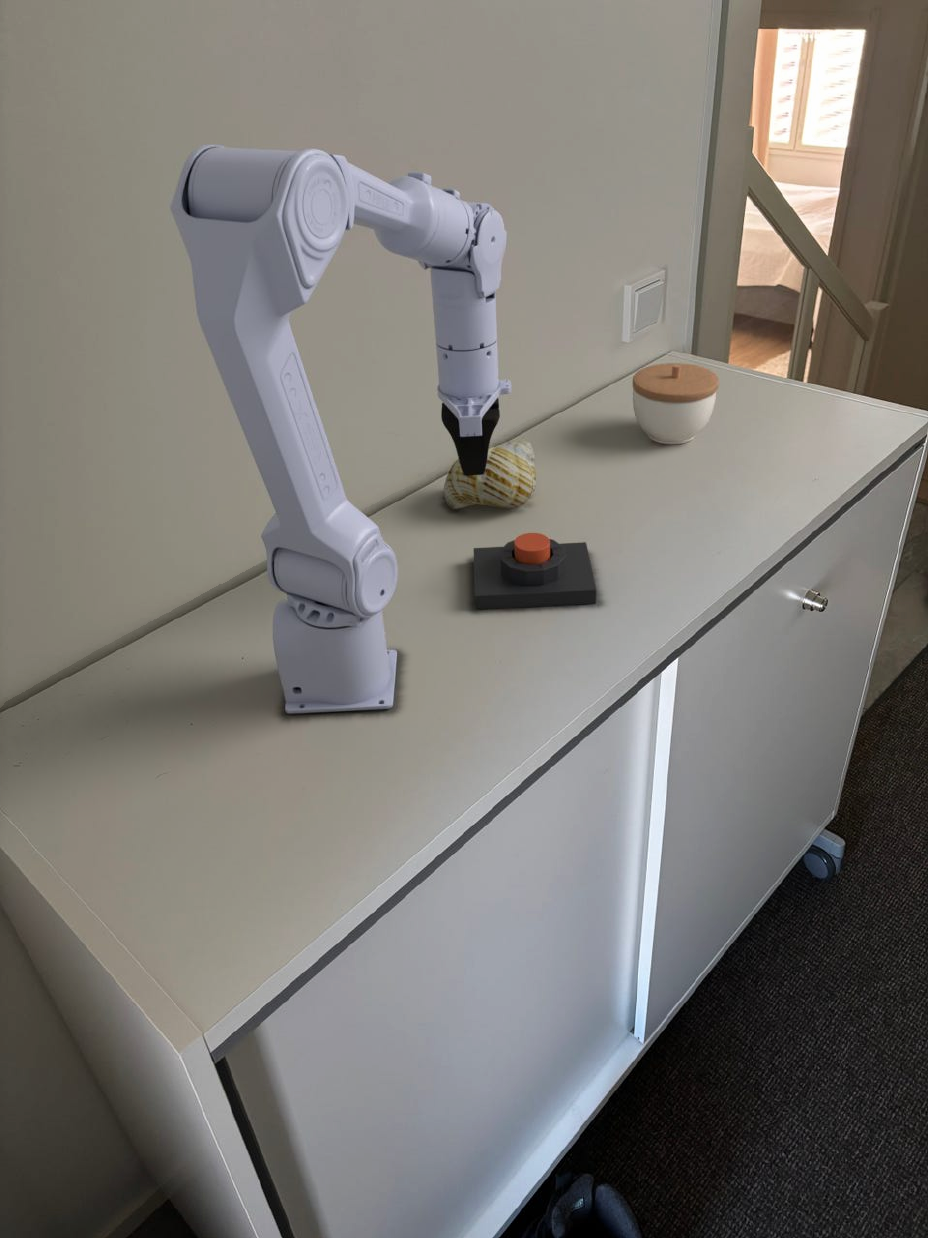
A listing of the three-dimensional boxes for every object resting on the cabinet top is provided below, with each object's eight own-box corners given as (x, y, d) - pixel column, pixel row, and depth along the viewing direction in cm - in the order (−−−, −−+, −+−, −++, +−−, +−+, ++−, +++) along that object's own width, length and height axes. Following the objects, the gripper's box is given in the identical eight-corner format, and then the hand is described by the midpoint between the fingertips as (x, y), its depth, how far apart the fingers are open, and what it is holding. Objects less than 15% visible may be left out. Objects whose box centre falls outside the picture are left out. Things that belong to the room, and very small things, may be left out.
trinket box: (730, 435, 120) (738, 366, 115) (671, 460, 115) (676, 389, 110) (671, 410, 127) (676, 344, 122) (613, 433, 123) (615, 364, 117)
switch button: (515, 566, 92) (515, 551, 91) (513, 547, 95) (513, 533, 94) (551, 564, 92) (551, 550, 91) (548, 546, 95) (548, 531, 94)
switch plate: (475, 609, 92) (474, 580, 90) (474, 561, 99) (472, 533, 97) (596, 603, 92) (597, 574, 89) (585, 555, 99) (586, 527, 97)
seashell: (424, 495, 110) (450, 414, 107) (487, 507, 116) (513, 431, 113) (467, 526, 103) (497, 440, 100) (533, 537, 108) (562, 456, 105)
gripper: (513, 366, 79) (517, 504, 87) (506, 312, 91) (509, 439, 99) (432, 371, 80) (443, 508, 88) (435, 316, 91) (444, 442, 99)
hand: (473, 472), depth 93 cm, fingers closed
